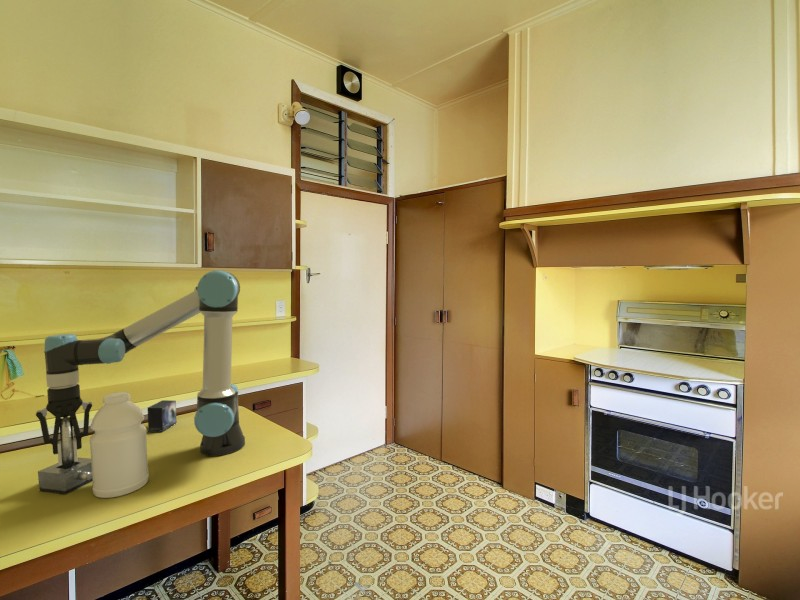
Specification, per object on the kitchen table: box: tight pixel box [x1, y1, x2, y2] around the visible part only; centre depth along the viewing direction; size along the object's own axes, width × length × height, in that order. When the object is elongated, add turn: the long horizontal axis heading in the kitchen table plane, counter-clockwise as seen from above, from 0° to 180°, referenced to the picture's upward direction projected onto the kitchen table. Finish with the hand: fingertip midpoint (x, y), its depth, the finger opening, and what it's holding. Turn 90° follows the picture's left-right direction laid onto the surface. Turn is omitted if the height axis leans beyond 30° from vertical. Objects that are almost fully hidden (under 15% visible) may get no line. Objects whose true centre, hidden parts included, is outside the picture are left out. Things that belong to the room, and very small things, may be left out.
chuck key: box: [59, 415, 75, 469], centre depth 123 cm, size 7×3×17 cm, turn 39°
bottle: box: [89, 391, 150, 499], centre depth 120 cm, size 14×14×28 cm
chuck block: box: [37, 456, 93, 495], centre depth 123 cm, size 12×10×6 cm
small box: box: [147, 399, 178, 433], centre depth 170 cm, size 11×6×10 cm, turn 179°
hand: (68, 461), depth 123 cm, fingers closed on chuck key, 3 cm apart
